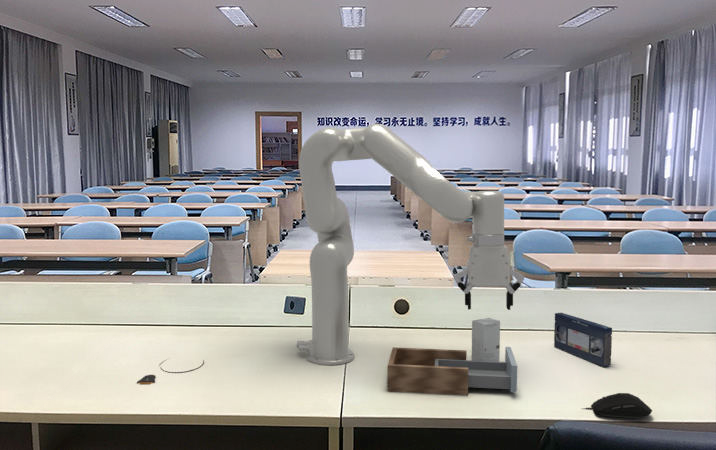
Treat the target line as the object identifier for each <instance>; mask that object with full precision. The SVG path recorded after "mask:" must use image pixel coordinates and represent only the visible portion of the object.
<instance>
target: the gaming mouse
mask: <svg viewBox="0 0 716 450" xmlns="http://www.w3.org/2000/svg"><path fill="white" fill-rule="evenodd" d="M582 410H589V411H593V412H595V413H597V414H599V415H600V416H604V417H615V418H631V419H632V418H633V419H640V418H646V417H648V416H650V415H651V414H652V412H653V410H652V408H651V407H650V406H649V405H647V403H645V402H644V401H643V400H642V399H641V398H639V397H638V396H636V395H634V394H631V393H630V392H628V393H627V392H618V393H613V394H609V395H606V396H603V397H601V398H599V399H597V400H596V401H593V403H592V404H591V405H590V407H585V408H582Z"/></svg>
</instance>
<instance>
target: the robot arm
mask: <svg viewBox="0 0 716 450" xmlns="http://www.w3.org/2000/svg"><path fill="white" fill-rule="evenodd" d="M301 147H302V148H301V150H300V153H299V158H298V166H299V167H298V169H299V177H300V182H301V187H302V195H303V203H304V204H303V205H304V209H305V216H306V217H305V218H306V222H307V225H308V227H309V229H310V230H312V232H314V233H316V234H317V235H316V236H317V241H318V242H317V243H316V244H315V245H314V247H312V250H311V253H310V256H309V271H310V281H311V333H312V334H311V340H308V341H303V340H297V341H296V345H295V346H296V348H297V349H298V350H299V351H307V353H306V359H307V361H308V362H310V363H312V364H316V365H322V366H337V365H343V364H348V363H349V362H352V361H353V360H354V359H355V352H354V351H353V350H352V349H350V348H349V281H348V266H349V265H350V264H351V263H352V261H353V258H354V254H355V248H354V241H353V240H354V239H353V235H352V228H351V221H350V215H349V211H348V209H347V208H348V207H347V206H346V204H345V203H344V201H343V200H342V199H341V198H339V197H338V196H337V190H336V183H335V178H334V174H333V163H334V162H347V161H348V162H349V161H358V160H371V159H372V160H373V161H374V162H375V163H376V164H378V165H379V166H380V167H382V168H383V169H384V170H385V171H387V172H388V173H389V174H390V175H392V177H394V178H395V179H396V180H398V181H399V182H400V183H401V184H402V185H404V186H405V187H406V188H407V189H408V190H409V191H411V192H413V194H415V195H416V196H417V197H419V198H420V199H421V201H423V202H424V203H426V204H427V205H428V206H429V207H430V208H431V209H433V210H434V211H435V212H437V213H438V214H439V215H440V216H442V217H443V218H444V219H445V220H447V221H449V222H450V223H456V224H457V223H463V222H465V221H466V220H468V219H471V218H472V227H473V228H472V235H469V236H467V237H466V239H467V242H470V243H472V244H473V245H471V246H470V247H469V253H468V263H467V265H468V267H467V268H465V269H462V270H461V271H459V272H457V273H455V274H454V275H453V279H454V281H455V283H456V285H457V287H458V288H459V289H460V290H461V291H462V292H463V293H464V305H465V306H467V310H472V294H471V290H472V289H473V288H505V289H506V290H507V291H506V293H505V294H506V295H505V296H506V297H505V298H506V303H505V304H506V309H507V310H508V311H510V310H511V307H513V306H514V294H515V292H516V291H517V290H519V288H520V287H521V285H522V284H523V282H524V280H525V278H526V277H525V275H524V274H522V273H520V272H518V271H516V270H514V269H512V268H511V263H510V255H509V249H508V245H505V196H504V193H503V192H502V191H500V190H479V191H470V190H469V191H468V190H461V189H460V188H458V187H457V186H456V185H454V184H453V182H451V181H449V180H448V179H447V178H446V177H445V176H443V175H442V174H441V173H440V172H439V171H438V170H437V169H436V168H435V167H433V165H432V164H431V162H430V161H429V160H428V159H427V158H426V157H425V156H424V155H423V154H421V153H420V152H419V151H417V150H416V149H415V148H413V147H412V146H411V145H410V144H408V143H407V142H406V141H405V140H403V139H402V138H401V137H400V136H399V135H397V134H396V133H394V131H393V130H392V129H391V128H390V127H389V126H388V127H387V126H386V125H384V124H381V123H373V124H369V125H368V126H366V127H356V128H345V129H344V128H342V129H341V128H338V127H337V128H336V127H333V126H332V127H331V126H330V127H324V128H321V129H319V130H317V131H316V132H314V133H312V135H310V136H309V137H308V139H306V141H305V142H304V143H303V146H301ZM466 276H467V279H468V280H467V281H468V282H467V284H466V285H465V283H464V282H462V278H463V277H466ZM511 276H513V277H514V278H515V279H516V281H515V283H513V284H512V285H511Z"/></svg>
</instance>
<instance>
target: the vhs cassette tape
mask: <svg viewBox="0 0 716 450" xmlns="http://www.w3.org/2000/svg"><path fill="white" fill-rule="evenodd" d="M553 331H554V336H553V341H554V342H553V347H554V348H555V349H557V350H560V351H562V352H565V353H567V354H570V355H572V356H575V357H576V358H579V359H582V360H585V361H587V362H590V363H592V364H596V365H598V366H601V367H603V368H604V367H609V366H611V365H612V341H613V336H612V335H613V328H612V327H609V326H606V325H604V324H600V323H597V322H594V321H591V320H588V319H584V318H581V317H579V316H578V317H577V316H574V315H571V314H567V313H564V312H555V313H554V330H553Z"/></svg>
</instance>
